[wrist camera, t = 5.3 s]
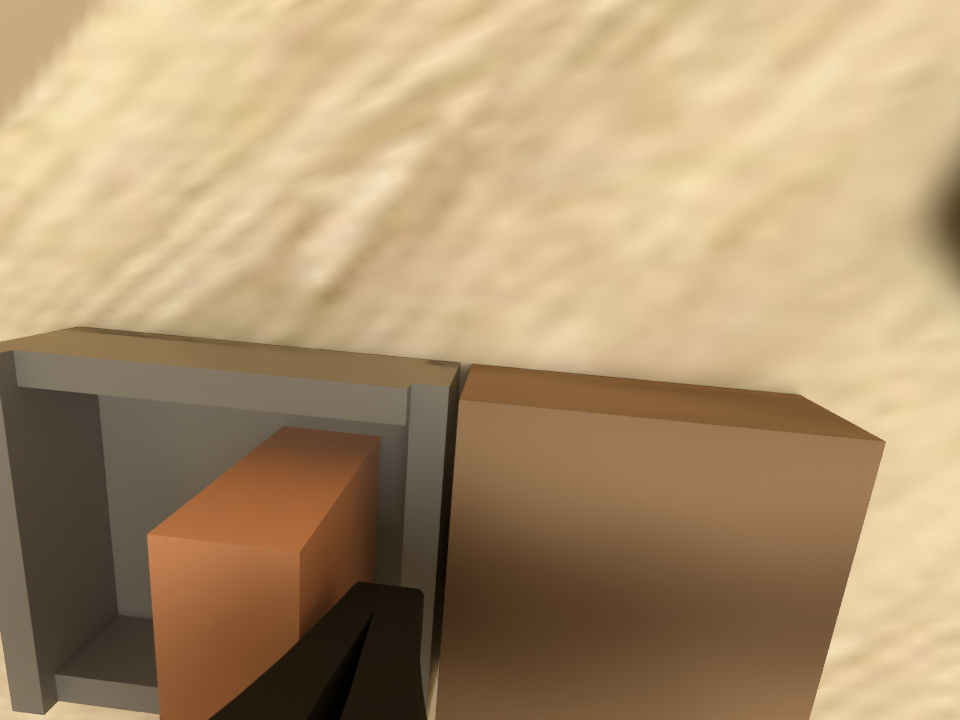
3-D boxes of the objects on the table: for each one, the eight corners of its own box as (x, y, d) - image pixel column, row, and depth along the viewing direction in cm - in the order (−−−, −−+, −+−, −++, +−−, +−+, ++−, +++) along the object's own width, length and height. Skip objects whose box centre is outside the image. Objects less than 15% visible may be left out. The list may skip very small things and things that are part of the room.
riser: (729, 700, 15) (782, 814, 12) (448, 665, 15) (432, 767, 12) (800, 395, 13) (885, 441, 10) (472, 363, 13) (459, 399, 10)
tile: (298, 798, 9) (164, 779, 9) (373, 607, 14) (284, 596, 14) (299, 552, 8) (146, 535, 8) (380, 436, 13) (283, 425, 13)
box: (438, 663, 15) (419, 765, 12) (107, 623, 16) (12, 710, 13) (460, 362, 13) (443, 398, 10) (78, 326, 14) (-43, 350, 11)
